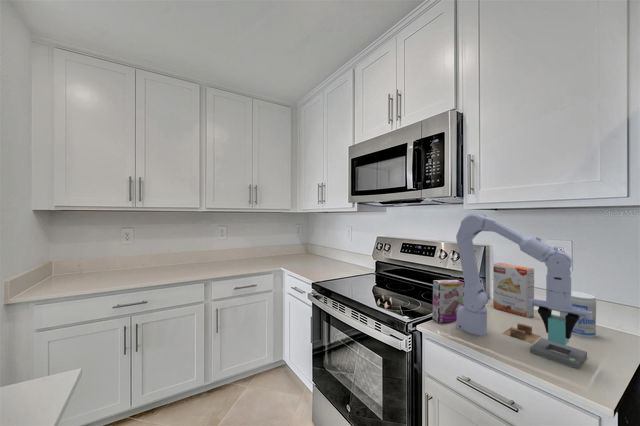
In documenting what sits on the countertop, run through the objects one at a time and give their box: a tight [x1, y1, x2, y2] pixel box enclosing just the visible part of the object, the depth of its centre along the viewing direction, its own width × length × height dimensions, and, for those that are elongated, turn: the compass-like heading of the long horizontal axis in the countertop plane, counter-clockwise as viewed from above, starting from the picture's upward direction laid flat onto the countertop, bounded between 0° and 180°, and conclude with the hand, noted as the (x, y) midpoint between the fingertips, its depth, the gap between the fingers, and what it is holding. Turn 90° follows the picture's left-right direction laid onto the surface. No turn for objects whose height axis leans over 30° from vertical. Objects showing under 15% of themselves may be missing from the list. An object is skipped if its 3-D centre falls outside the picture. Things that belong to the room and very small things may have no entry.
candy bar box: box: [432, 279, 465, 324], centre depth 110 cm, size 11×5×16 cm, turn 97°
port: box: [529, 337, 588, 370], centre depth 82 cm, size 11×11×3 cm
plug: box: [547, 314, 570, 345], centre depth 82 cm, size 4×4×7 cm
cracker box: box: [492, 262, 535, 319], centre depth 119 cm, size 14×6×21 cm, turn 25°
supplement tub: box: [559, 290, 597, 338], centre depth 98 cm, size 10×10×15 cm
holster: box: [501, 322, 542, 345], centre depth 95 cm, size 9×9×4 cm
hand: (558, 334), depth 82 cm, fingers closed on plug, 4 cm apart
